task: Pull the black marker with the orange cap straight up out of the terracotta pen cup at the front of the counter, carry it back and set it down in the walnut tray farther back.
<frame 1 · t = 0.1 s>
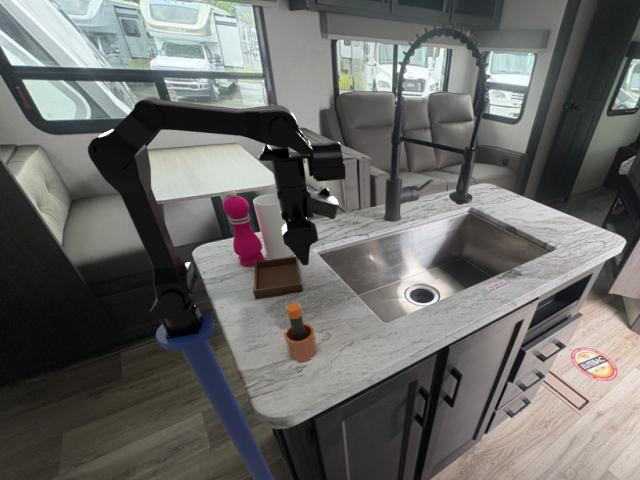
hand: (303, 254, 71), 12 cm above the worktop, tool pointing down, fingers open, 9 cm apart
pen cup: (303, 352, 64), on the worktop
marker: (303, 350, 64), resting on pen cup
tray: (279, 279, 84), on the worktop
cup: (281, 252, 96), on the worktop
pepper mill: (252, 261, 91), on the worktop
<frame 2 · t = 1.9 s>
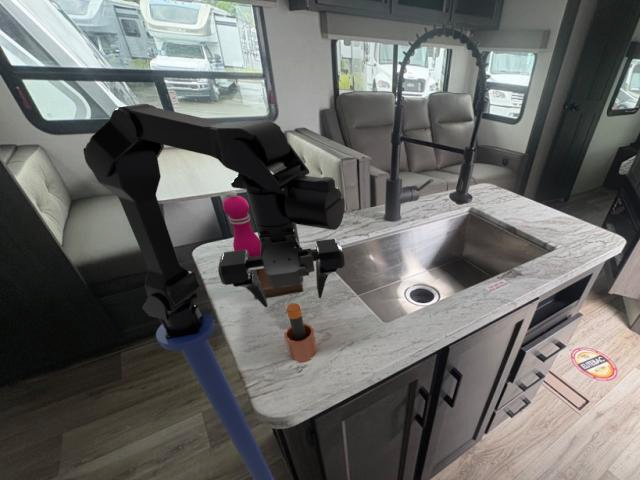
hand: (293, 301, 57), 12 cm above the worktop, tool pointing down, fingers open, 9 cm apart
nothing on the worktop moved.
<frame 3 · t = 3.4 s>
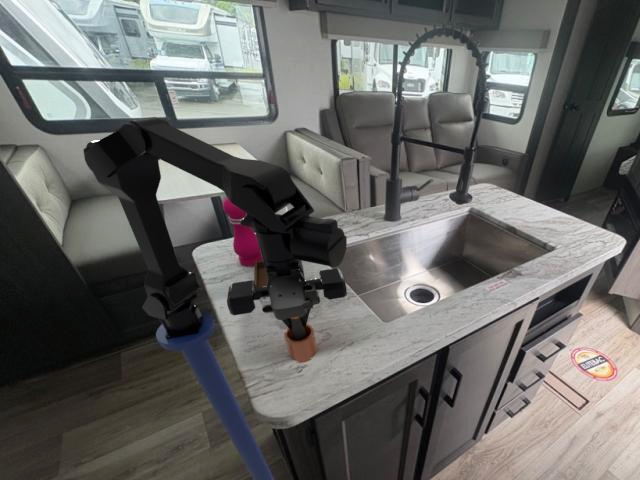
hand: (297, 326, 60), 7 cm above the worktop, tool pointing down, fingers closed on marker, 2 cm apart
marker: (303, 350, 64), point 1 cm above the worktop, touching gripper, pen cup
everything else where it was.
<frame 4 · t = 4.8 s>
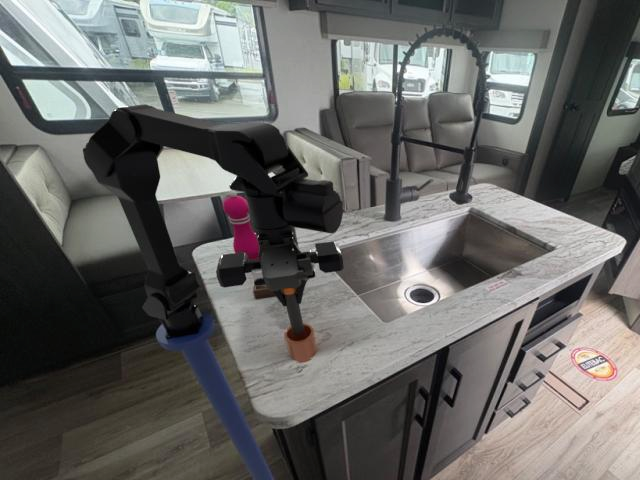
hand: (292, 303, 57), 12 cm above the worktop, tool pointing down, fingers closed on marker, 2 cm apart
marker: (298, 330, 61), point 6 cm above the worktop, touching gripper
everything else where it was.
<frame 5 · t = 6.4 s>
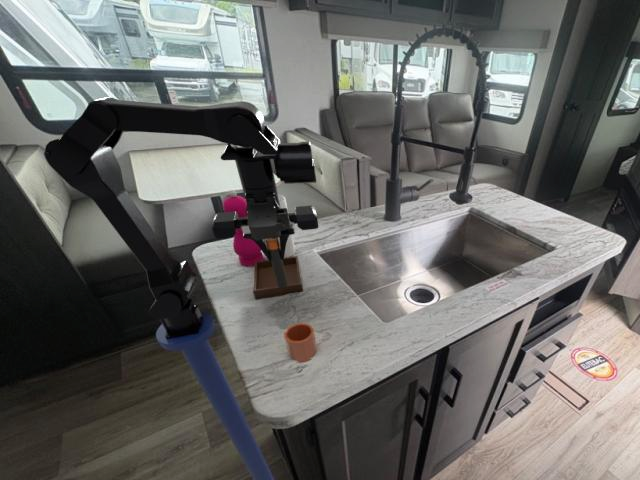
hand: (276, 259, 67), 13 cm above the worktop, tool pointing down, fingers closed on marker, 2 cm apart
marker: (282, 284, 71), point 6 cm above the worktop, touching gripper
everything else where it was.
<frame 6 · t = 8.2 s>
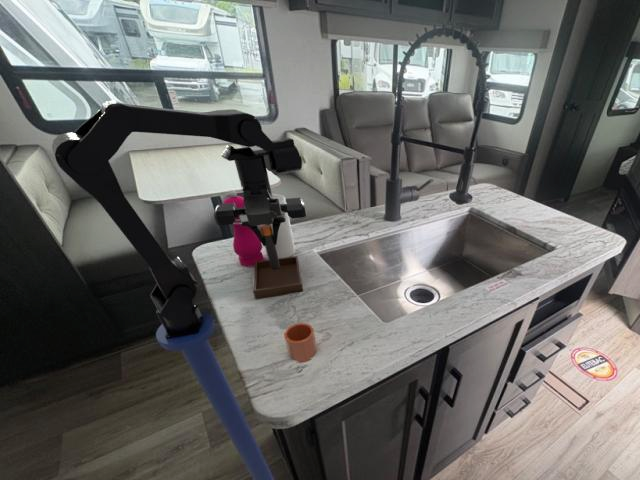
hand: (270, 244, 78), 10 cm above the worktop, tool pointing down, fingers closed on marker, 2 cm apart
marker: (275, 267, 82), point 4 cm above the worktop, touching gripper
everything else where it was.
when the fingers open (7 cm above the worktop, at t = 9.4 s): marker stays where it is, resting on tray.
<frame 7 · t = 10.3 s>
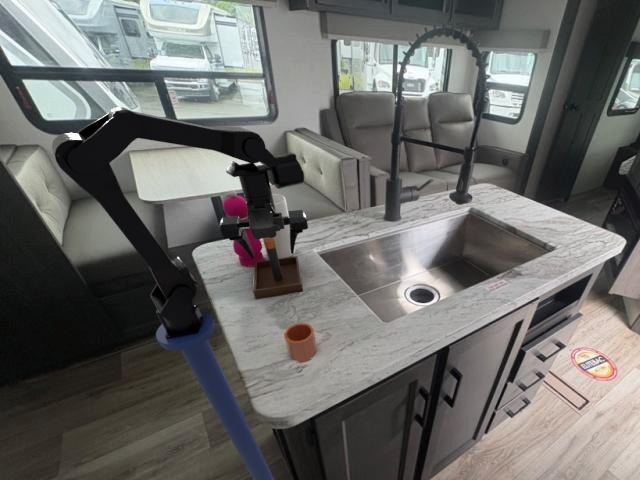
hand: (273, 255, 80), 7 cm above the worktop, tool pointing down, fingers open, 9 cm apart
marker: (278, 278, 84), resting on tray
everything else where it was.
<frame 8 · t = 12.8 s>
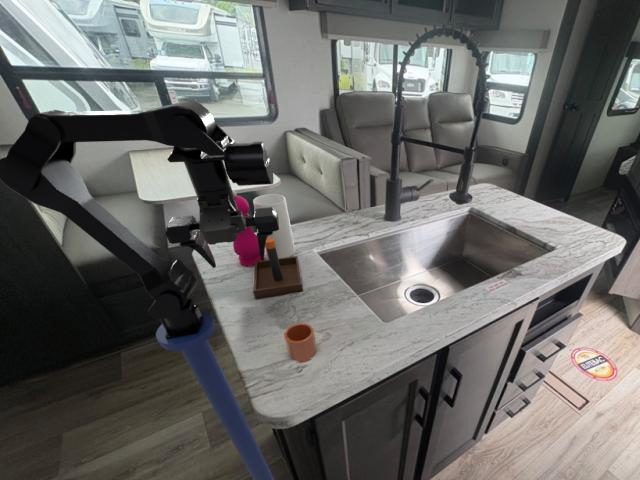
hand: (239, 263, 66), 13 cm above the worktop, tool pointing down, fingers open, 9 cm apart
nothing on the worktop moved.
at the end: marker inside the target area in the tray (0.0 cm from its centre), point 0.4 cm above the tray's base; the gripper is holding nothing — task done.
